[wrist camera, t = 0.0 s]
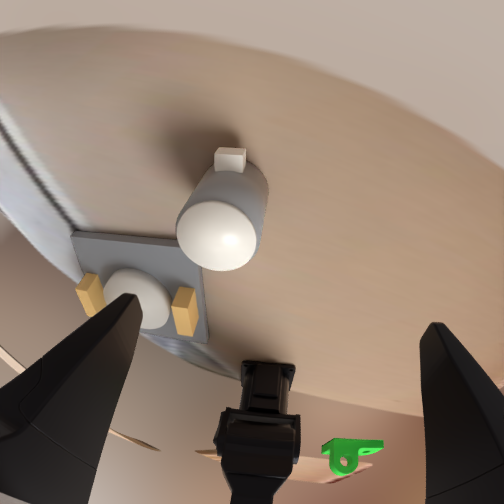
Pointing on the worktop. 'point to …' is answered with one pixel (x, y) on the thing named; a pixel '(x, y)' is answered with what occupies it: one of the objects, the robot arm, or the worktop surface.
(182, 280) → the board
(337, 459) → the mechanical part
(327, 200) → the worktop surface
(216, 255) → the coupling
